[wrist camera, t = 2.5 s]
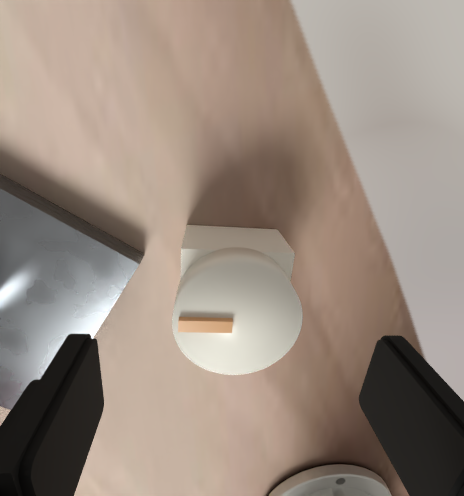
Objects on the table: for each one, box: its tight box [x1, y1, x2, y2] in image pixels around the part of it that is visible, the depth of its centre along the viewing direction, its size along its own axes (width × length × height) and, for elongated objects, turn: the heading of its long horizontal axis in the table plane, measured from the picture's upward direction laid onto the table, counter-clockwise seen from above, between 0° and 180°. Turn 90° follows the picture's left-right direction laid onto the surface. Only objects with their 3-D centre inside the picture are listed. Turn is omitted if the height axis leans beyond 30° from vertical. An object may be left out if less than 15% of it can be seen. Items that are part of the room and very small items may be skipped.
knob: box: [172, 225, 303, 375], centre depth 16 cm, size 6×6×6 cm
